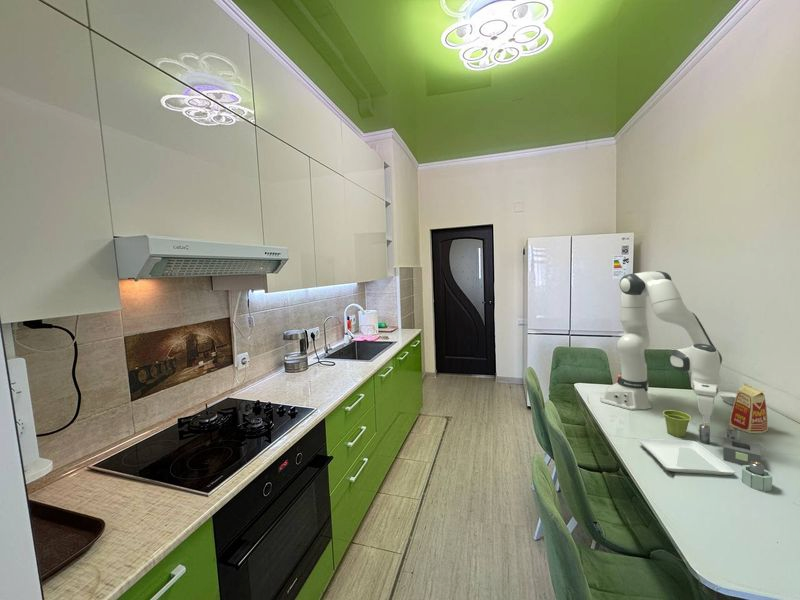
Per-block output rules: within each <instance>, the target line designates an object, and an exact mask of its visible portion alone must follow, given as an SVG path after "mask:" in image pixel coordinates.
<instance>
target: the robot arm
mask: <svg viewBox="0 0 800 600" xmlns="http://www.w3.org/2000/svg"><path fill="white" fill-rule="evenodd" d="M619 288H620V291H621V294H620V301H619V303H620V304H619V305H620V307H619V310H620V311H619V312H620V316H619V317H620V322H621V325H622V328H623V335H622V336H620V337H619V338H618V340H617V343H616V347H617V348H616V349H617V350H618V355H619V359H620V367H621V368H620V371H621V372H620V373H621V374H618V375H617V376H616V377H617V378H616V383H613V384H611V385H610V386H607V387H606V389H605V392H604V393H603V394H601V395H600V396H599V401H600V402H601V403H604V404H607V405H612V406H614V407H617V408H618V407H619V408H623V409H626V410H629V411H636V410H647V409H648V410H649V409H650V408H651V407H652V405H651V403H650V402H651V401H650V398H649V395H648V394H649V393H648V390H649V381H648V368H647V367H648V365H647V363H646V356H645V350H646V349H647V348H648V347H649V345H650V341H651V338H650V333H649V329H648V327H649V326H648V324H647V323H648V322H647V321H648V319H647V297H648V298H649V302H650V304H651V307H652V311H653V313H654V315H655V316H656V317H657V318H658V319H659V320H661V321H663V322H666V323H670V324H673V325H676V326H679V327H682V328H684V330H686V332H687V333H688V336H689V337H690V339H691V341H692V343H693V344H692V345H690V346H687V347H684V348H677V349H676V348H675V349H673V350H671V351H670V353H669V357H668V362H669V364H670V365H671V367H672V368H674V369H675V370H676V371H679V372H689V373H690V386H691V388H692V390H693V393H694V394H695V397H696V401H697V407H698V411H699V414H701V415H702V419H703V420H702V421H703V422H704V423H710V416H712V415H713V412H714V407H715V398H716V397H717V396H718V393H719V392H720V391H722V380H721V379H722V378H721V376H720V370H721V365H722V362H723V356H722V354H721V352H720V351H719V350H718V348H717V347H715V345H714V344H713V342H712V341H711V338H710V337H709V335H708V333H707V332H706V330H705V328H704V326H703V324H702V323H701V321H700V319H699V318H698V317H697V315H696V314H695V313H694V312H692V311H690V310H689V309H688V307H687V306H686V305H685V304H684V301H683V299H682V296H681V294H680V292H679V290H678V288H677V286H676V285H675V284H674V282H673V281H672V276H671V275H670V274H669V273H668V272H664V271H661V270H660V271H658V270H657V271H642V272H636V273H629V274H625V275H623V276H622V277H621V279H620V281H619Z"/></svg>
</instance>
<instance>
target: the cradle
mask: <svg viewBox="0 0 800 600" xmlns="http://www.w3.org/2000/svg"><path fill="white" fill-rule="evenodd" d="M722 440H723V441H722V451H723V452H722V455H723V456H722V457H723V462H728V463H733V464H737V465H740V466H743V465H750V462H751V461H754V462H759V463H761V461H762V460H761V458H762V457H761V456H762V455H761V450H760V446H759V443H753V442H750V441H744V440H740V439H738V440H736V439H731V438H727V437H726V436H723V438H722ZM733 446H737V447H733ZM738 447H741V448H738ZM742 448H746V449H748V450H746V449H742Z"/></svg>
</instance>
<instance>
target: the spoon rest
mask: <svg viewBox="0 0 800 600" xmlns="http://www.w3.org/2000/svg"><path fill="white" fill-rule="evenodd" d="M736 395H737V393H731V392H729V393H727V392H726V393H719V397H720V398H721V400H723V401H725V402H726V403H727V404H728V405H731V406H733V405H734V401H735V398H736Z"/></svg>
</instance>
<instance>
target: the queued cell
mask: <svg viewBox="0 0 800 600" xmlns="http://www.w3.org/2000/svg"><path fill="white" fill-rule="evenodd" d="M725 437H727V438H731V439H736V440H739V429H737V428H735V427H726V436H725Z"/></svg>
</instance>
